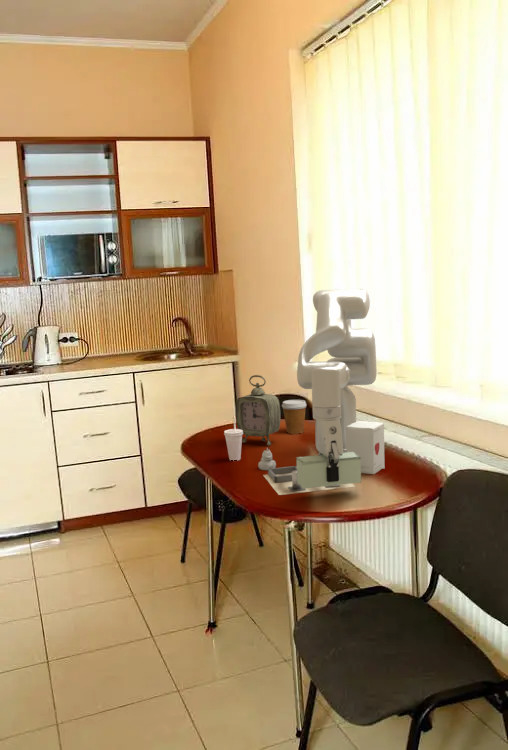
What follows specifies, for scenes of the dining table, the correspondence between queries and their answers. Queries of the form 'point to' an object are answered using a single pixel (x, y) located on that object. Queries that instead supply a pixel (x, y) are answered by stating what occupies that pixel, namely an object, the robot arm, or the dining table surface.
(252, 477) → the dining table surface
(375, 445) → the supplement box
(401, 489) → the dining table surface
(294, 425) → the disposable coffee cup
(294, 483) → the pin
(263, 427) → the tabletop clock
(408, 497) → the dining table surface
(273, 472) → the socket
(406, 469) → the dining table surface
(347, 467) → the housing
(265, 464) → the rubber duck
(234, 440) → the smoothie
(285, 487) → the board
